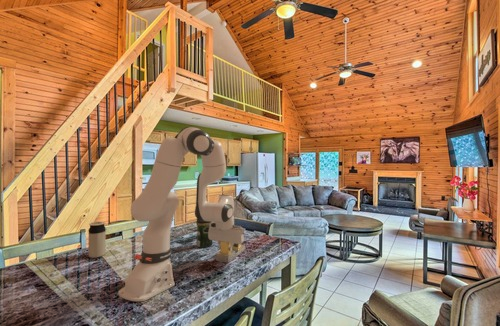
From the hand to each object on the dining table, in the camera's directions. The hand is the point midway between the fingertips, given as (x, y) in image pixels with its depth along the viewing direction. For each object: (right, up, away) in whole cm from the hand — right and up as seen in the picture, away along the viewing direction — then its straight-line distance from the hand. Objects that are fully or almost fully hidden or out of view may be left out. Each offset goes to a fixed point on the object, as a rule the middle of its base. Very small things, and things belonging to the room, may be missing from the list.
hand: (225, 249), depth 132 cm
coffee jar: (-15, -5, +20) cm, 26 cm away
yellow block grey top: (0, -2, 0) cm, 2 cm away
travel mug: (-72, -5, +4) cm, 72 cm away
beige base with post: (+3, -5, +7) cm, 9 cm away
